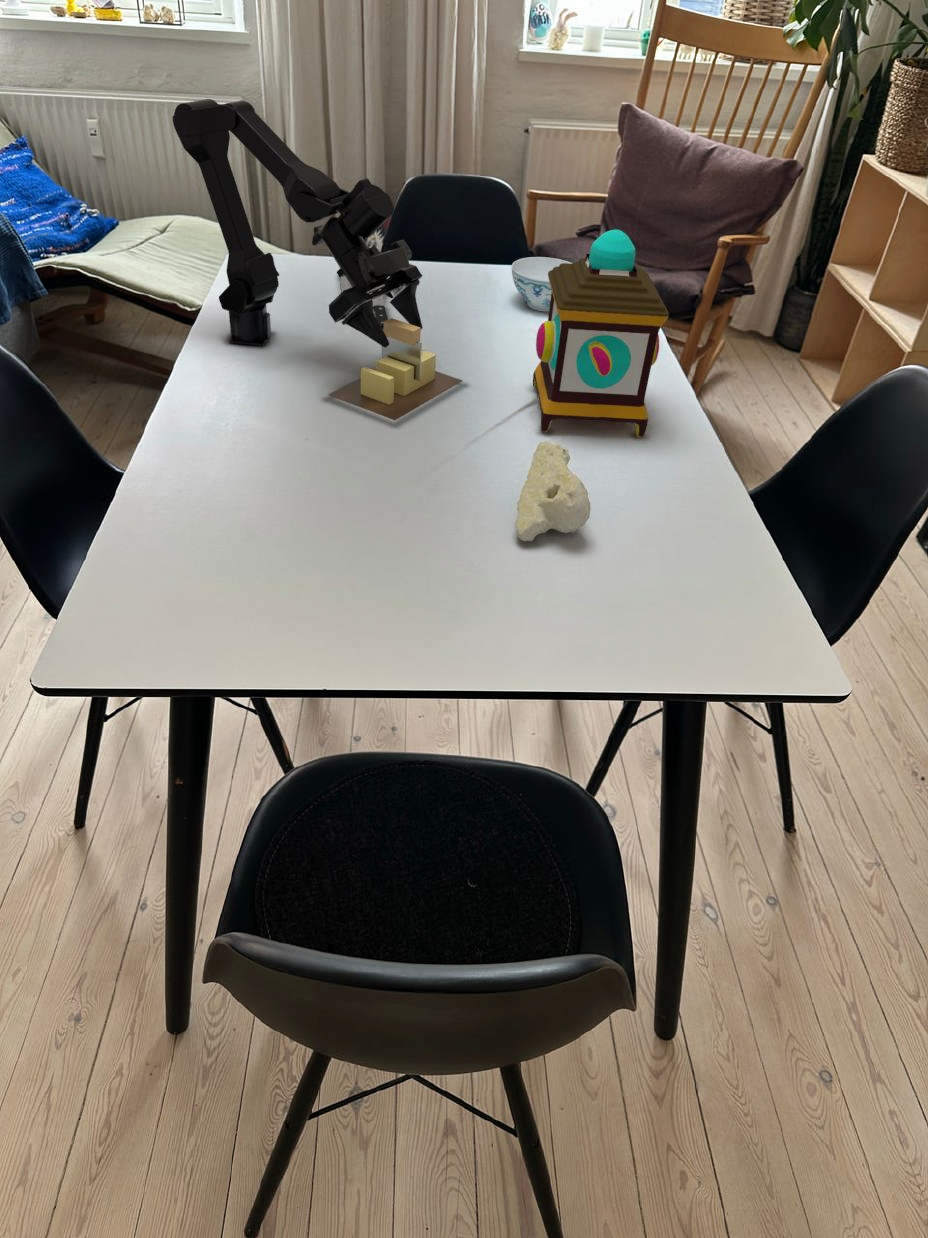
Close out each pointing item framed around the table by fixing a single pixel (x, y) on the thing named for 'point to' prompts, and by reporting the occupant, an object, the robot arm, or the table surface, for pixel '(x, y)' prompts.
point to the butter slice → (377, 385)
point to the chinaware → (535, 280)
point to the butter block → (408, 372)
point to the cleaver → (377, 302)
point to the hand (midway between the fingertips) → (404, 337)
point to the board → (396, 396)
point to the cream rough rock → (551, 495)
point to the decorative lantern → (599, 337)
